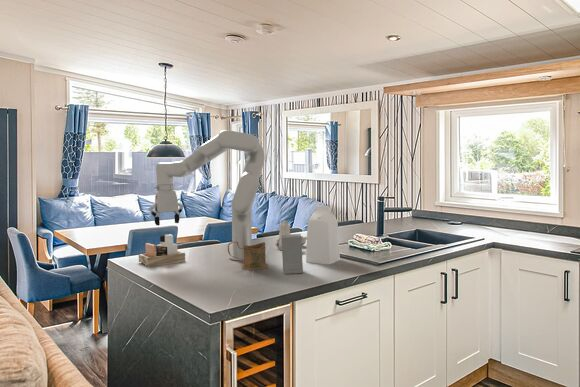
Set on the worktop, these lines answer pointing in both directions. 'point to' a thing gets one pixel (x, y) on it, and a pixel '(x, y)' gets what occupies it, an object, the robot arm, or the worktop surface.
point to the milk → (322, 237)
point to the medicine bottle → (166, 246)
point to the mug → (253, 256)
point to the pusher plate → (150, 250)
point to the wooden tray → (162, 259)
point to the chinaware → (285, 231)
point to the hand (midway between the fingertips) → (167, 224)
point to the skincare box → (292, 254)
